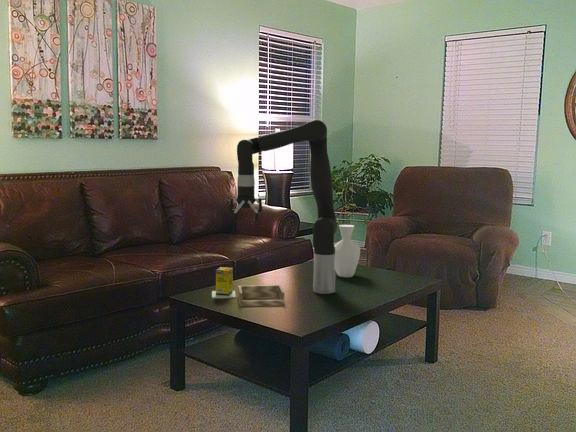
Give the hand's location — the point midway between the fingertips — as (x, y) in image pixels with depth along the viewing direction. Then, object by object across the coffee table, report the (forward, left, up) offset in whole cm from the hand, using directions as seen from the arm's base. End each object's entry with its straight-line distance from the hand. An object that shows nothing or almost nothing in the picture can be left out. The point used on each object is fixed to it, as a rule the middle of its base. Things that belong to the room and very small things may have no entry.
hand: (245, 221), depth 253 cm
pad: (+10, +13, -30) cm, 34 cm away
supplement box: (+10, +13, -30) cm, 34 cm away
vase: (-51, -20, -30) cm, 63 cm away
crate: (-5, +23, -30) cm, 38 cm away
